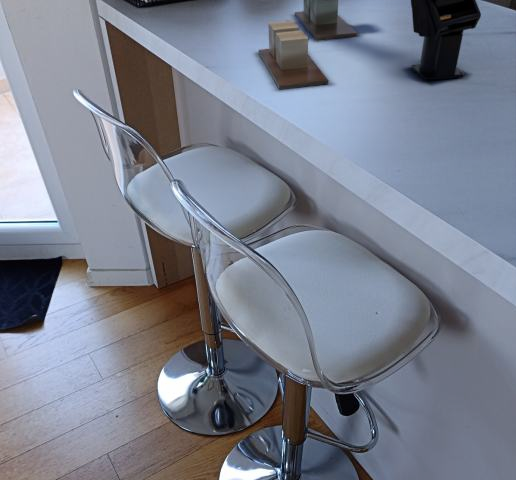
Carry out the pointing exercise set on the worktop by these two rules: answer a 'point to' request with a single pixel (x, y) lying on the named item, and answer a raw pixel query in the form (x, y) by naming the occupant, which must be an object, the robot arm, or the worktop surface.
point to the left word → (290, 57)
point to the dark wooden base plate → (324, 20)
